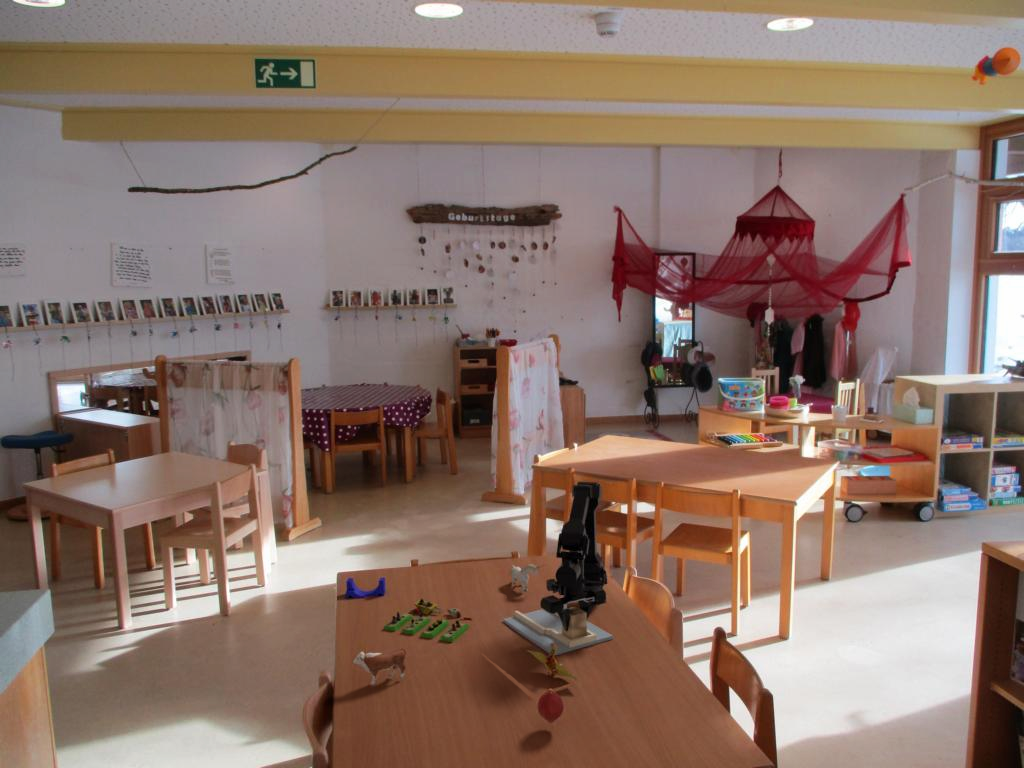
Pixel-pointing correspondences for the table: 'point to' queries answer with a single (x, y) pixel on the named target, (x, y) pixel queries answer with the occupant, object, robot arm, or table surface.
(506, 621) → the keyhole board
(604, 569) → the robot arm
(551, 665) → the origami crane
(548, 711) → the onion
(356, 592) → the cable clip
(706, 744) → the table surface
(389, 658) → the bull figurine
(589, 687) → the table surface
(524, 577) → the unicorn figurine
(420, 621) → the toy garden set
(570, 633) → the stud block
